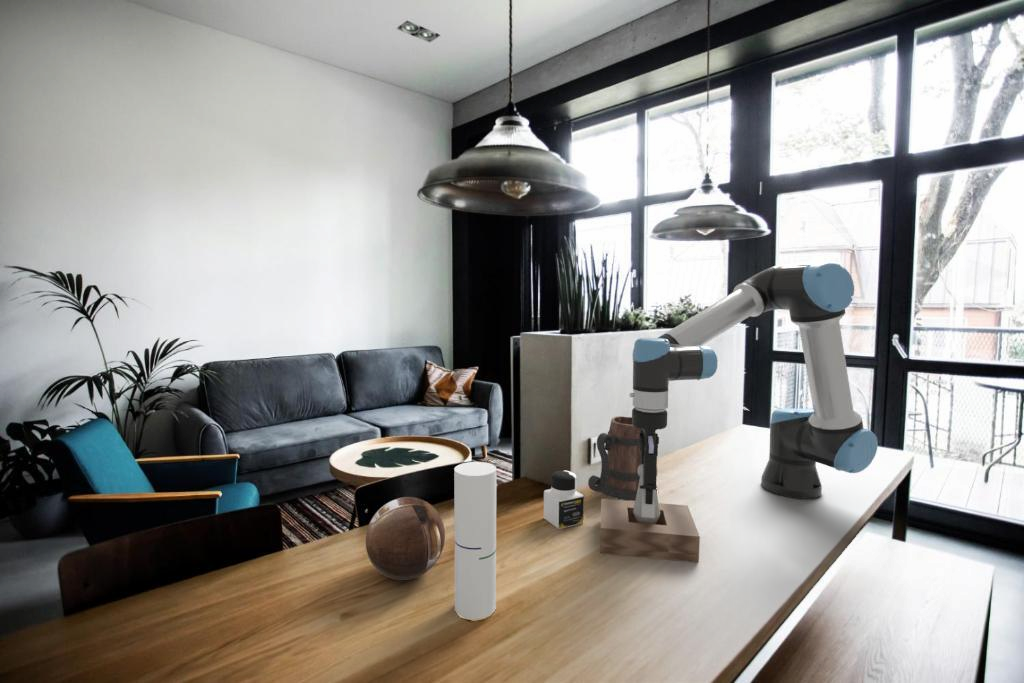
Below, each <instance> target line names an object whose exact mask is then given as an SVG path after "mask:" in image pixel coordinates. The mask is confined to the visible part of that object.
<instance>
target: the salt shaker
mask: <svg viewBox="0 0 1024 683" xmlns="http://www.w3.org/2000/svg"><path fill="white" fill-rule="evenodd" d="M657 473H658V469H657ZM638 475H639V476H640V480H639V485H638V490H637V495H636V500H635V505H634V510H633V512H634V516H635V518H636V521H637V522H638V523H644V524H656V523H657V521H658V519H659V517H660V509H659V503H660V502H659V497H658V495H657V492H656V490H655V518H647V517H642V516H641V513H642V489H640V485H641V486H643V464H641V465H639V467H638ZM657 477H658V475H657V476H656V478H657Z"/></svg>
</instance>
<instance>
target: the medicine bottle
mask: <svg viewBox="0 0 1024 683" xmlns="http://www.w3.org/2000/svg"><path fill="white" fill-rule="evenodd" d="M577 477H578V476H577V475H576V473H575V472H572V471H569V470H564V469H563V470H557V471H554V472H553V473H552V474H551V476H550V478H551V480H550V481H551V482H550V483H551V484H550V488H549V489H545V490H544V491H543V519H545V521H547V522H548V523H549V524H551V525H553V527H556V529H558V530H563V529H566V528H570V527H571V528H572V527H574V526H578V525H582V524H584V513H585V512H584V511H585V510H584V506H585V505H584V503H585V502H584V501H585V495H584V494H583V493H580V492H579V491H577Z"/></svg>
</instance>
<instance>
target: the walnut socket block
mask: <svg viewBox="0 0 1024 683" xmlns="http://www.w3.org/2000/svg"><path fill="white" fill-rule="evenodd" d="M600 502H601V503H600V504H601V506H600V533H599V536H600V539H599V553H600V554H607V553H608V554H609V555H619V556H621V555H622V556H627V555H628V556H631V557H640V558H648V559H649V558H650V559H661V560H670V561H681V562H690V563H692V562H693V563H699V562H700V539H701V536H700V534H699V531H698V529H697V526H696V523H695V521H694V518H693V516H692V513H691V511H690V507H689V505H687V504H685V505H684V504H672V503H661V502H658V503H659V509H660V517H659V519H658V521H657V523H656V524H644V523H638V522H637V521H636V518H635V516H634V512H633V510H634V505H635V501H627V500H620V499H612V498H610V499H609V498H608V499H607V498H601V501H600Z"/></svg>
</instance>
